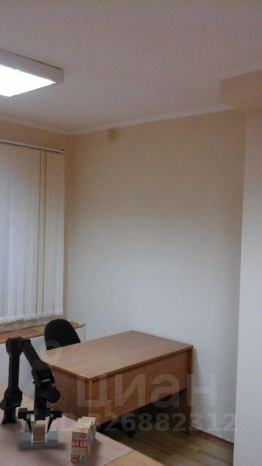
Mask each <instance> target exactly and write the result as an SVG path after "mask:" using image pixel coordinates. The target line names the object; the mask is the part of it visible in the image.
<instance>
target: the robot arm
mask: <svg viewBox="0 0 262 466" xmlns="http://www.w3.org/2000/svg"><path fill="white" fill-rule="evenodd" d="M31 340H32V339H31V338H29V337H28V338H27V337H22V336H12V337H8V338H7V339H6V340H5V343H4V344H5V351H6V353H7V354H8V376H7V387H6V389H5V391H4V392H3V398H2V399H1V400H0V410H2V411H3V417H2V421H1V424H16V423H17V420H23V421H24V422H25V421H26V422H27V424H28V426H29V430H30V433H32V425H31V416H34V420H35V421H36V422H38V421H42V422H44V421H47V420H48V421H47V426H46V431H47V433H48V431H50V428H51V426H52V424H53V422H54V421H56V420H57V419H61V418H63V407H62V406H53V408H52V407H50V406H49V407H48V403H50V404H52V405H54V404H56V403H58V402H59V400H60V398H61V392H60V390H59V389H58V387H57V386H56V385H55V384H56V380H55V377H54V373H53V371H52V369H51V367H50V366H49V364H47V362H45V361H43V360H42V359H41V357H40V355H38V354H39V353H37V351H36V348H34V346H33V344H32V341H31ZM22 354H23V355H24V356H25V358H26V360H27V362H28V364H29V366H30V368H31V370H30V374H31V376H32V378H33V381H32V384H33V385H34V393H33V394H34V396H33V399H34V400H33V410H28V407H21V405H22V402H23V393H24V392H23V390H21V388H20V386H19V384H20V365H21V364H20V363H21V362H20V361H21V355H22ZM17 408H18V410H17ZM47 418H48V419H47ZM46 419H47V420H46Z"/></svg>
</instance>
